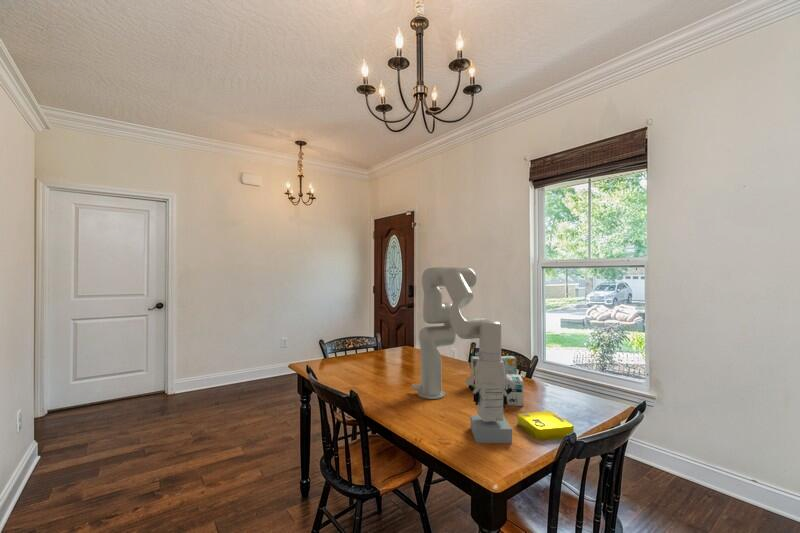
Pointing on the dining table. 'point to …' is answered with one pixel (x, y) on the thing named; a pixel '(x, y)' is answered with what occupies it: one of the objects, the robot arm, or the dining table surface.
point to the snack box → (508, 365)
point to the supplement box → (490, 403)
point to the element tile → (544, 425)
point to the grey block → (491, 430)
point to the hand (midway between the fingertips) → (490, 405)
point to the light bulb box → (516, 390)
